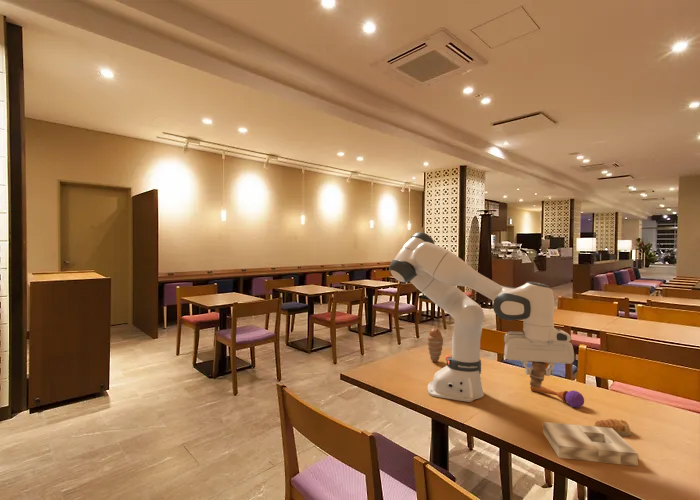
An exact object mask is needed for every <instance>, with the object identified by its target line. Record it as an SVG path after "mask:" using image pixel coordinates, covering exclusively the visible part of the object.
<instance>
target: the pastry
mask: <svg viewBox="0 0 700 500" xmlns="http://www.w3.org/2000/svg"><path fill="white" fill-rule="evenodd" d="M594 426H595V427H606V428H612V429H613V430H614V431H615V432H616V433H617V434H618V435H619V436H621V437H630V436H632V431H631V428H630V426H629V422H627V421H626V420H623V419H613V418H608V419H602V420H597V421H596V422H595V423H594Z"/></svg>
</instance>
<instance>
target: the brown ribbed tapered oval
mask: <svg viewBox="0 0 700 500" xmlns="http://www.w3.org/2000/svg"><path fill="white" fill-rule="evenodd" d="M428 334H429V335H428V337H427V346H428V348H427V349H428V353H429V355H430V360H431V362H433V361H434V363H437V362H439V360H440V358H441V357H440V356H441V355H442V350H443V344H444V337H443V335H442V332H441V331H440V329H439V328H436V327H435V326H432V328H431V329H430V331H429V333H428Z"/></svg>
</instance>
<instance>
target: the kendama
mask: <svg viewBox="0 0 700 500" xmlns="http://www.w3.org/2000/svg"><path fill="white" fill-rule="evenodd" d="M529 388H530V391H531V392H536V393H540V394H547V395H552V396H557V397H558V398H559V399H560V400H561V401H563V402H564V403H567V404H568V405H569V406H570V407H572V408H577V409H579V408H581V407H582V406H583V405H584V404H585V397H584V396H583V395H582V393H580V391H577V390H570V391H567V390H564V391H558V392H557V391H555V390H552V389H549V388H546V387H544V386H542V385H541V388H535V387H533V386H531V385H530V387H529Z"/></svg>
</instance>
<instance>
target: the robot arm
mask: <svg viewBox="0 0 700 500" xmlns="http://www.w3.org/2000/svg"><path fill="white" fill-rule="evenodd" d="M388 271H389V273H390V275H391V276H392V278H394V279H395V280H397V281H398V282H400V283H404V284H405V283H411V284H412V286H414V287H415V288H416V289H417V290H418V291H419V292H421V293H422V295H424V296H426V297H427V298H428V299H429V300H430V301H432V302H433V303H434V304H435V305H436V306H438V307H439V308H440V309H442V310H443V311H444V312H445V313H446V314H448V315H449V316H451V317H452V318H453V333H452V337H451V356H450V355H448V354H447V355H445V357H444V358H445V361H446V365H445V366H444V367H442V368H440V369H439V370H437V371H435V373H434V376H433V379H432V381H430V382H429V383H428V384H427V388H426V389H427V392H428V394H429V395H430V396H432V397H433V398H434V397H435V398H441V399H442V398H443V399H446V400H447V399H448V400H454V401H460V402H461V401H462V402H465V403H466V402H467V403H472V402H474V400H478V399H481V398H482V397H484V395H485V394H484V393H485V392H484V390H483V386H482V385H483V384H482V377H481V374H482V360H481V338H482V337H481V336H482V332H483V324H484V321H485V312H484V310H483V308H482V307H481V305H480V304H479V303H477V302H476V301H475V300H474V299H473V298H471V297H469V296H468V295H467V294H466V293H464V291H462V290H461V289H460V288H459V287H467V288H469V289H471V290H474V291H476V292H477V293H479V294H481V295H482V296H484V297H486V298H488V299H489V300H491V301H492V302H493V303H492V309H493V312H494V313H495V315H496V316H497V317H498V318H499V319H502V321H504V320H505V321H510V322H511V321H521V320H522V321H523V323H522V325H523V326H522V327H523V328H522V331H519V330H518V331H513V330H509V331H507V332H506V333H505V334H504V336H503V337H504V338H503V340H504V351H503V354H504V357H505V358H506V359H507V360H508V361H521V363H522V365H523V367H524V368H525V370H524V372H525V373H524V374H525V375H528V376H530V375H531V372H532V370H531V367H528V365H529V362H532V361H534V362H545V363H547V364H548V365H547V366H546V369H545V375H544V377H545V376H547V377H550V376H551V375H552V374H551V372H552V370H553V369H554V368H555V366H556V365H555V364H568V365H569V364H570V365H571V364H572V363H574V361H575V351H574V346H573V344H572V342H571V341H572V337H571V336H572V335H570V334H569V333H568V332H566V331H564V330H562V329H559V328H557V327H556V328H555V323H554V314H555V297H554V291H553V289H552V288H551V287H550V286H549V285H547V284H545V283H541V282H538V281H526V283H524V284H523V285H520V286H518V287H515V286H507V285H502V284H499V283H498V282H496V281H494V280H492V279H490V278H489V277H486V276H485V275H483V274H482V273H480V272H478V271H477V270H475V269H474V268H473V267H472V266H471V265H469V264H468V263H467V262H465V261H464V260H463V259H462V258H461V257H459V256H458V255H456V254H455V253H453V252H451V251H449V250H448V249H446V248H444V247H442V246H440V245H438V244H436V243H435V241H434V239H433V238H432V237H431V235H429V234H427V233H426V232H422V231H417V232H415V233H413V234H412V235H411V237H410V238H409V239H408V240H407V242H405V243H404V245H402V246H401V248H400V250H399V251H398V252H397V254H396V255H395V257H394V259H393V260H391V262H390V264H389V267H388Z"/></svg>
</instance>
